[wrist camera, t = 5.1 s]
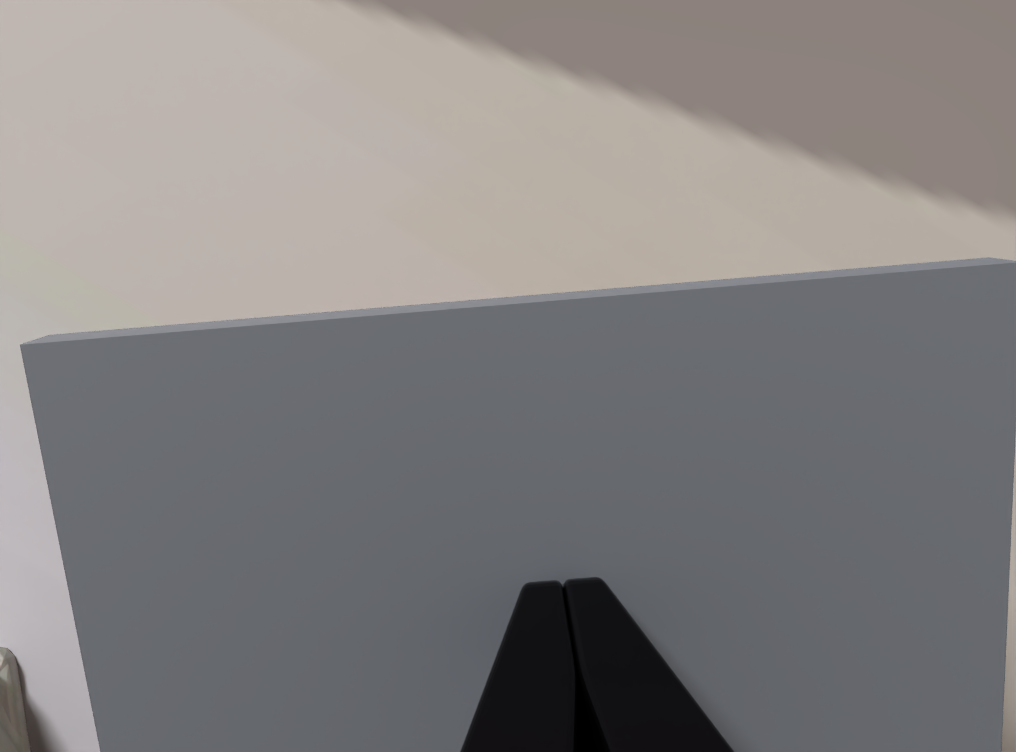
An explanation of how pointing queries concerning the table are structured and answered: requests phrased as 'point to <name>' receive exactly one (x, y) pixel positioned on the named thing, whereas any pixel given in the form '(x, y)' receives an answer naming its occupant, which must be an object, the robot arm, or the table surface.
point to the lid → (546, 507)
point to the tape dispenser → (11, 707)
